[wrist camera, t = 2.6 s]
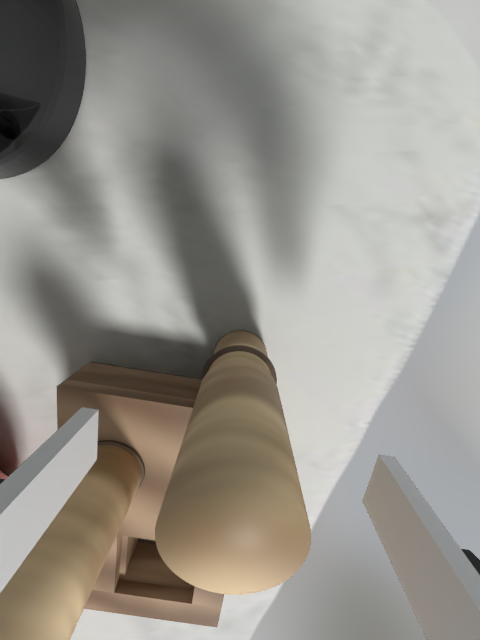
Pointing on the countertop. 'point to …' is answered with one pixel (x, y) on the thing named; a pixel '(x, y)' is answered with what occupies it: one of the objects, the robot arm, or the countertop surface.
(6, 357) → the countertop surface
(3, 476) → the cell model
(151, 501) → the board
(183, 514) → the peg
